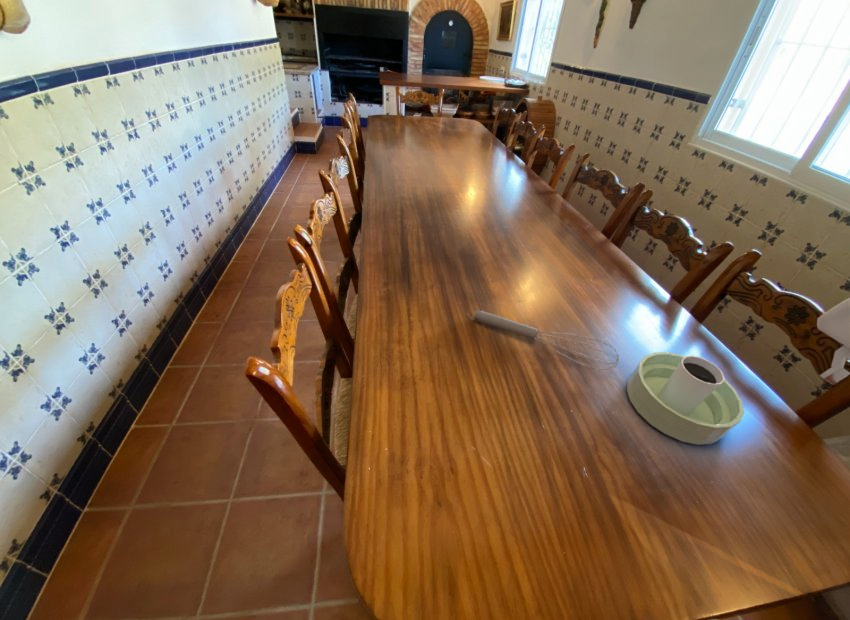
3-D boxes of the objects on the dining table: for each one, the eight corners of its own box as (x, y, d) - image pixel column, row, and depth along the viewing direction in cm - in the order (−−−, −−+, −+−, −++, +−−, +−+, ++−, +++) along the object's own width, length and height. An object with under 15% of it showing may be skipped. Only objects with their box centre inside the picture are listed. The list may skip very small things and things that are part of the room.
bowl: (719, 394, 73) (737, 375, 69) (727, 463, 61) (750, 445, 57) (629, 360, 79) (642, 340, 75) (621, 417, 67) (635, 398, 63)
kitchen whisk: (471, 309, 89) (475, 288, 85) (613, 363, 78) (625, 343, 74) (461, 323, 85) (465, 302, 81) (609, 382, 74) (622, 362, 70)
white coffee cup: (701, 412, 68) (733, 378, 62) (676, 422, 66) (707, 388, 60) (671, 386, 73) (698, 352, 67) (647, 394, 71) (673, 360, 64)
